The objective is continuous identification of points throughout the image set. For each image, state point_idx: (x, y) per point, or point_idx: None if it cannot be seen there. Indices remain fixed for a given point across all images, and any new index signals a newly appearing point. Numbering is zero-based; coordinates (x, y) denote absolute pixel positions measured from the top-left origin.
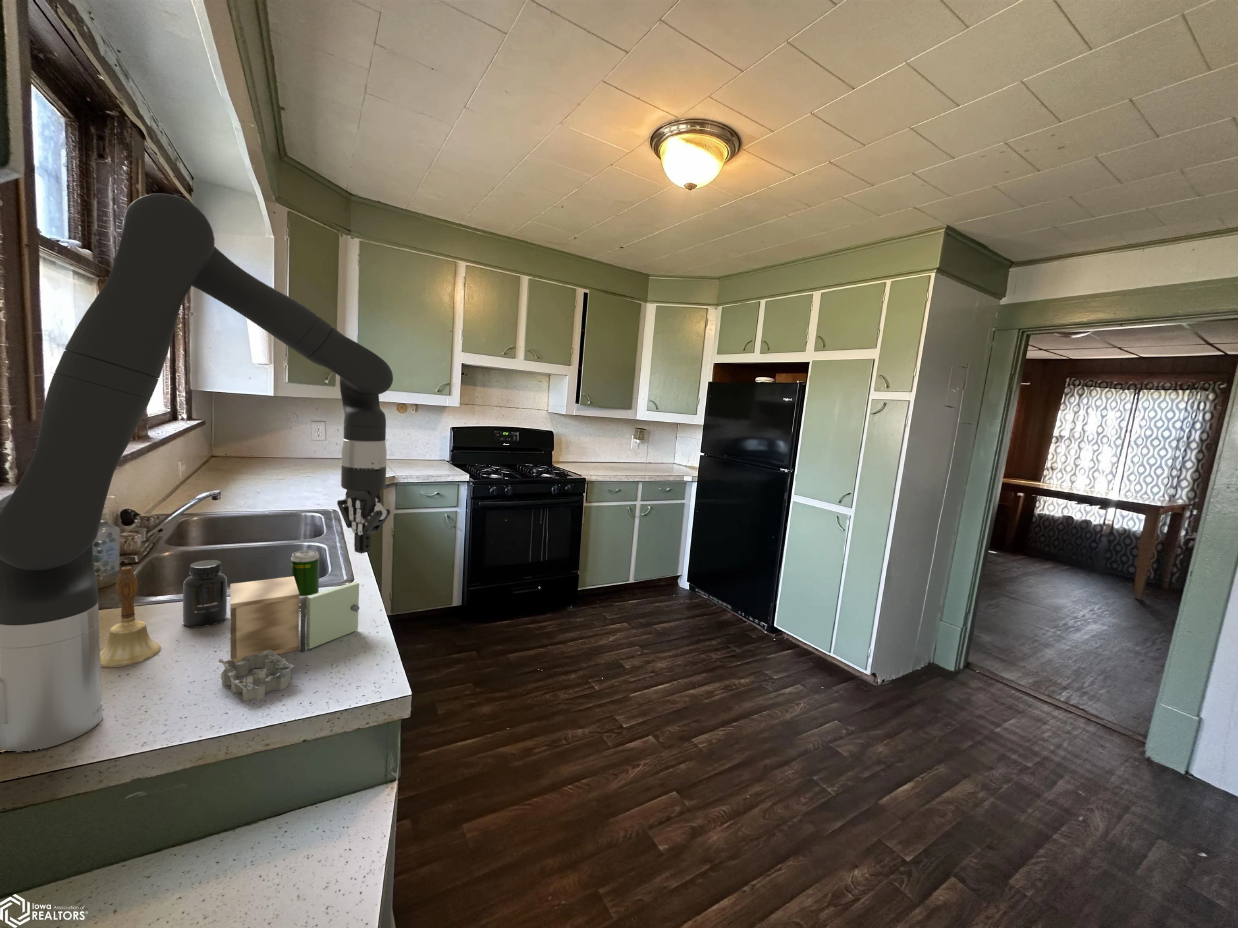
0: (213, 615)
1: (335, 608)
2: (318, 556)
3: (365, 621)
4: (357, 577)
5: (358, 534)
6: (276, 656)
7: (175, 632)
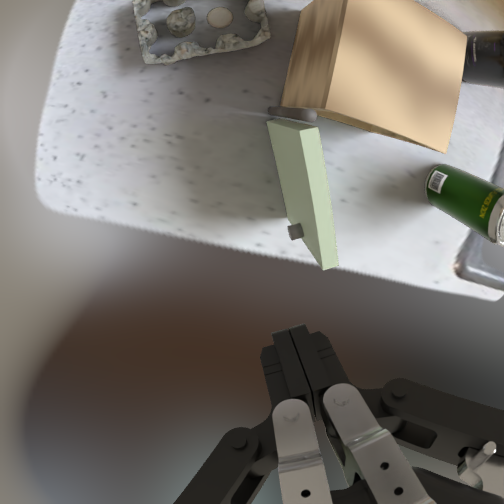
0: None
1: (296, 190)
2: (493, 242)
3: None
4: (460, 283)
5: (308, 395)
6: (228, 50)
7: (449, 16)
